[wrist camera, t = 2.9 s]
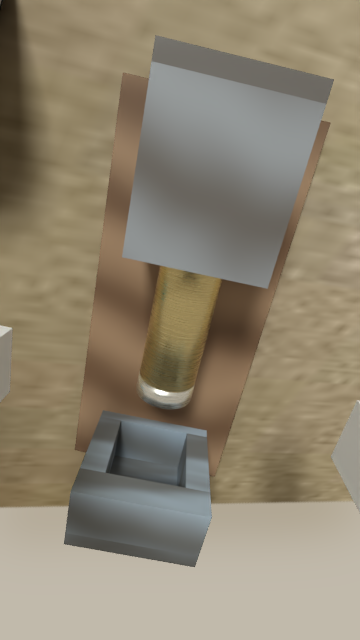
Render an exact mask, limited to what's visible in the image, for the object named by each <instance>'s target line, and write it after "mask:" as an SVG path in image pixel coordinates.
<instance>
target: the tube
mask: <svg viewBox="0 0 360 640" xmlns="http://www.w3.org/2000/svg"><path fill="white" fill-rule="evenodd" d="M221 283H222V279H220V278H215V277H211V276H206V275H202V274H197V273H192V272H188V271H183V270H179V269H174V268H169V267H165V266H160V269H159V275H158V280H157V285H156V290H155V295H154V300H153V305H152V311H151V316H150V321H149V326H148V331H147V336H146V341H145V347H144V352H143V357H142V362H141V367H140V371H139V376H138V381H137V386H136V391H137V394H138V395H139V397H140V398H141V399H142V400H143V401H145V402H146V403H148V404H150V405H152V406H155V407H158V408H162V409H179V408H182V407H184V406H186V405H187V404H188V403H189V402H190V400H191V397H192V393H193V390H194V386H195V381H196V377H197V373H198V369H199V366H200V362H201V358H202V354H203V351H204V347H205V343H206V339H207V336H208V332H209V328H210V324H211V320H212V317H213V313H214V309H215V305H216V302H217V298H218V294H219V290H220V287H221Z"/></svg>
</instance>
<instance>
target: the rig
mask: <svg viewBox="0 0 360 640" xmlns="http://www.w3.org/2000/svg"><path fill="white" fill-rule="evenodd" d="M333 81H334V79H330V78H326V77H321V76H317V75H313V74H309V73H305V72H301V71H297V70H293V69H289V68H285V67H281V66H277V65H273V64H269V63H265V62H261V61H257V60H253V59H249V58H245V57H241V56H237V55H233V54H229V53H225V52H221V51H217V50H213V49H209V48H205V47H201V46H197V45H193V44H189V43H185V42H181V41H177V40H172V39H168V38H164V37H160V36H155V42H154V49H153V56H152V62H151V69H150V75H149V79H148V78H144V77H140V76H136V75H132V74H127V73H123V76H122V84H121V91H120V99H119V107H118V115H117V123H116V131H115V139H114V146H113V154H112V162H111V170H110V178H109V186H108V194H107V201H106V209H105V217H104V225H103V233H102V241H101V248H100V256H99V264H98V272H97V280H96V288H95V296H94V303H93V311H92V319H91V327H90V335H89V343H88V351H87V358H86V366H85V374H84V382H83V390H82V398H81V405H80V413H79V421H78V429H77V437H76V445H75V450H78V451H83V452H86V454H85V457H84V459H83V462H82V464H81V467H80V470H79V472H78V475H77V477H76V480H75V482H74V485H73V487H72V490H71V494H70V501H69V509H68V517H67V524H66V532H65V540H64V544H67V545H72V546H78V547H84V548H90V549H95V550H101V551H107V552H113V553H118V554H123V555H129V556H135V557H141V558H146V559H152V560H158V561H163V562H169V563H174V564H180V565H185V566H191V567H195V565H196V562H197V559H198V556H199V553H200V550H201V547H202V544H203V542H204V539H205V536H206V533H207V530H208V527H209V524H210V521H211V518H212V514H211V497H210V480H209V476H215V474H216V471H217V468H218V465H219V462H220V459H221V456H222V453H223V450H224V446H225V443H226V440H227V437H228V434H229V431H230V428H231V425H232V422H233V419H234V416H235V413H236V410H237V407H238V404H239V401H240V398H241V395H242V392H243V388H244V385H245V382H246V379H247V376H248V373H249V370H250V367H251V364H252V361H253V358H254V355H255V352H256V349H257V346H258V343H259V340H260V337H261V333H262V330H263V327H264V324H265V321H266V318H267V315H268V312H269V309H270V306H271V303H272V300H273V297H274V294H275V291H276V288H277V285H278V282H279V279H280V275H281V272H282V269H283V266H284V263H285V260H286V257H287V254H288V251H289V248H290V245H291V242H292V239H293V236H294V233H295V230H296V227H297V224H298V221H299V217H300V214H301V211H302V208H303V205H304V202H305V199H306V196H307V193H308V190H309V187H310V184H311V181H312V178H313V175H314V172H315V169H316V166H317V163H318V159H319V156H320V153H321V150H322V147H323V144H324V141H325V138H326V135H327V132H328V129H329V126H330V122H326V121H321V119H322V116H323V113H324V110H325V106H326V103H327V100H328V97H329V94H330V91H331V88H332V84H333ZM160 266H165V267H169V268H174V269H179V270H183V271H188V272H192V273H197V274H202V275H206V276H211V277H215V278H220V279H222V283H221V287H220V290H219V294H218V298H217V302H216V305H215V309H214V313H213V317H212V320H211V324H210V328H209V332H208V336H207V339H206V343H205V347H204V351H203V354H202V358H201V362H200V366H199V369H198V373H197V377H196V381H195V386H194V390H193V393H192V397H191V400H190V402H189V403H188V404H187V405H186V406H184V407H182V408H179V409H162V408H158V407H155V406H152V405H150V404H148V403H146V402H145V401H143V400H142V399H141V398H140V397H139V395H138V394H137V391H136V386H137V381H138V376H139V371H140V367H141V362H142V357H143V352H144V347H145V341H146V336H147V331H148V326H149V321H150V316H151V311H152V305H153V300H154V295H155V290H156V285H157V280H158V275H159V269H160Z"/></svg>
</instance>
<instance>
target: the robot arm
mask: <svg viewBox="0 0 360 640" xmlns="http://www.w3.org/2000/svg"><path fill="white" fill-rule="evenodd" d="M12 329H13V328H10V327H5V326H0V402H1V401H2V400H3V398H4V397H5V396H6V395H7V394H8V393H9V392H10V376H11V352H12ZM331 458H332V460H333V462H334V464H335V466H336V468H337V470H338V471H339V473H340V475H341V477H342V479H343V481H344V483H345V485H346V487H347V489H348V491H349V493H350V495H351V497H352V499H353V501H354V503H355V505H356V507H357V509H358V510H359V512H360V401H358V400H357V402H356V404H355V406H354V408H353V410H352V412H351V415H350V417H349V419H348V421H347V423H346V425H345V427H344V430H343V432H342V434H341V436H340V438H339V440H338V442H337V445H336V447H335V449H334V451H333V453H332V455H331Z"/></svg>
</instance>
